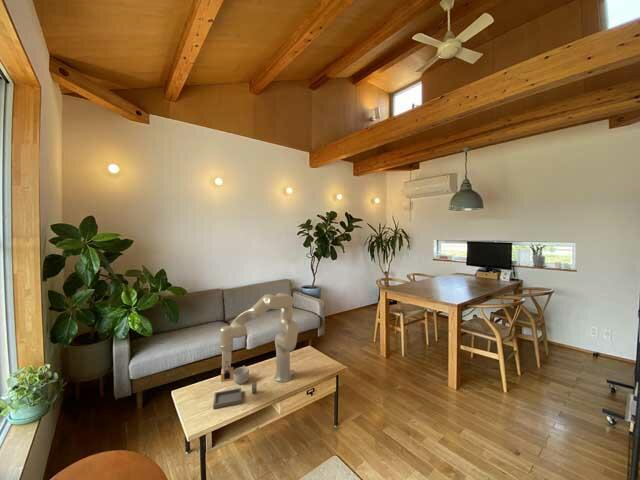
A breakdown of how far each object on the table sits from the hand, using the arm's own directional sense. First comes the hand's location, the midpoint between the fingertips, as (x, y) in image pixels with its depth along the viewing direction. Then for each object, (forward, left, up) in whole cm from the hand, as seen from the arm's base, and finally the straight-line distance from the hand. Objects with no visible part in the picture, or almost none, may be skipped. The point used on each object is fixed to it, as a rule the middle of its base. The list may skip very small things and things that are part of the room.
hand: (227, 375), depth 164 cm
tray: (0, 0, -15) cm, 15 cm away
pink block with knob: (0, 0, -2) cm, 2 cm away
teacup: (-9, -20, -16) cm, 27 cm away
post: (-16, -2, -15) cm, 22 cm away
